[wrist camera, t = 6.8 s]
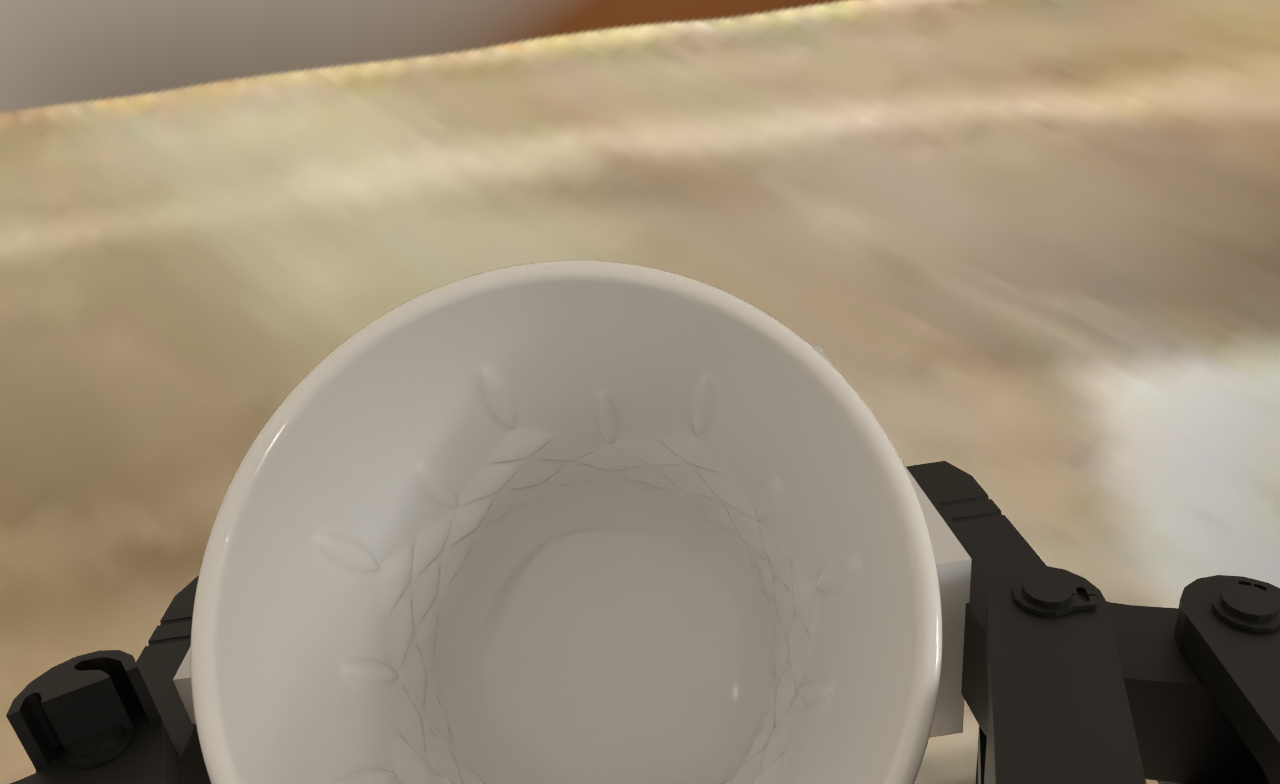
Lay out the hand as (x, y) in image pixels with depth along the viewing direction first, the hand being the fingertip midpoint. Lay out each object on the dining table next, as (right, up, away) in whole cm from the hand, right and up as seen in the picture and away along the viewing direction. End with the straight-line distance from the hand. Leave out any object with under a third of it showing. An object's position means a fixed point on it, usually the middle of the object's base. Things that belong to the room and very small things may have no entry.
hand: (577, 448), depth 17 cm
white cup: (+1, -5, +2) cm, 5 cm away
